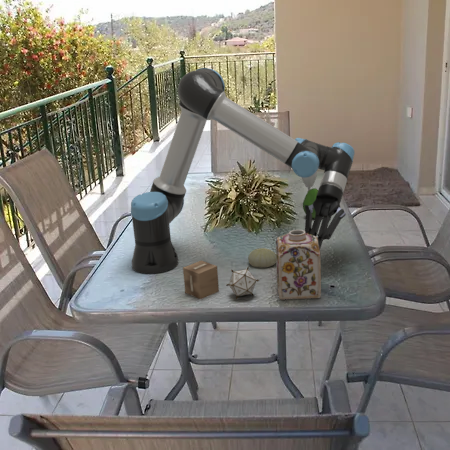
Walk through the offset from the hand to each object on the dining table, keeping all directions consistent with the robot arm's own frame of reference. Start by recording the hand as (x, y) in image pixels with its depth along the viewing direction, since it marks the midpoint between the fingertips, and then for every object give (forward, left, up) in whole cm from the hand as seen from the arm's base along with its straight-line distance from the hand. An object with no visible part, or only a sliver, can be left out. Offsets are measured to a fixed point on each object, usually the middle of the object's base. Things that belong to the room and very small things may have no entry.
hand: (310, 258), depth 172 cm
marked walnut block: (-19, -26, -7) cm, 33 cm away
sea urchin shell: (-20, +1, -7) cm, 21 cm away
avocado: (-37, +48, -7) cm, 61 cm away
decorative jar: (+2, -8, -7) cm, 11 cm away
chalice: (-47, +58, -7) cm, 75 cm away
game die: (-8, -20, -7) cm, 23 cm away
